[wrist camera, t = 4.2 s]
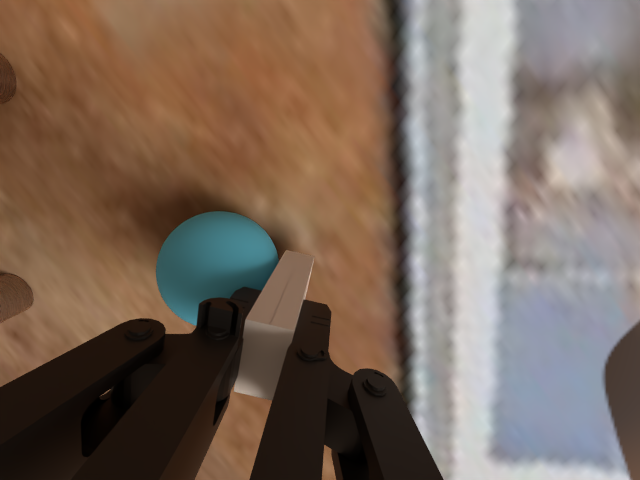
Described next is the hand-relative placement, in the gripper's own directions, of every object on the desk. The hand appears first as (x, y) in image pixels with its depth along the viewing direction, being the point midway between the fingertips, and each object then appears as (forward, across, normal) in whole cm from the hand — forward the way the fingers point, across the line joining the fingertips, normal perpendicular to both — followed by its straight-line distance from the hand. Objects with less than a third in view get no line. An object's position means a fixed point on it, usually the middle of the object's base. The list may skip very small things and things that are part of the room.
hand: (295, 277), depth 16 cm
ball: (-1, +4, 0) cm, 4 cm away
